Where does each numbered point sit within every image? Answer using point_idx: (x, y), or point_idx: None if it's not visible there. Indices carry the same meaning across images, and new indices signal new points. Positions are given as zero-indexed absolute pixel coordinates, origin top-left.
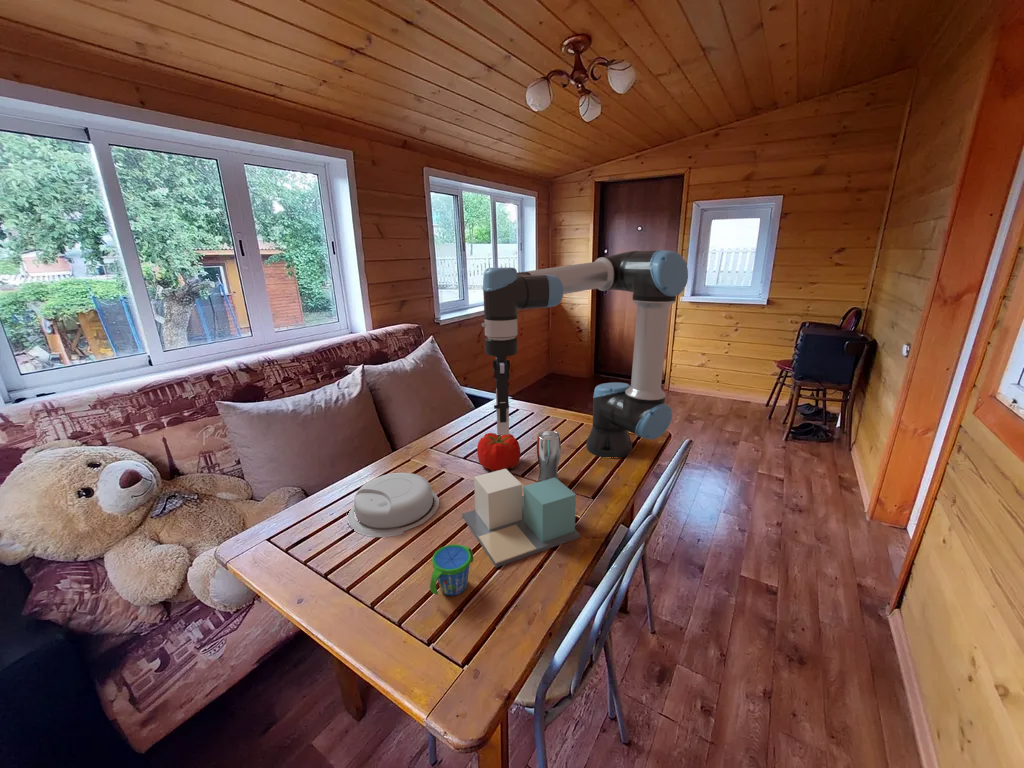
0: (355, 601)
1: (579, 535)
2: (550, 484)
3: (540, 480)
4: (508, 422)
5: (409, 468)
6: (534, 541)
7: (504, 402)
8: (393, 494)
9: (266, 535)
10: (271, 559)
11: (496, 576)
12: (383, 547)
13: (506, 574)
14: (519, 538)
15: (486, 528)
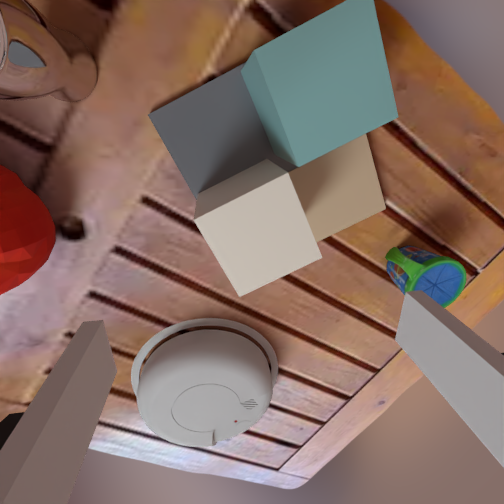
0: (396, 358)
1: None
2: (297, 76)
3: (82, 95)
4: (474, 335)
5: None
6: None
7: (74, 393)
8: (229, 402)
9: (269, 474)
10: (313, 451)
11: (398, 204)
12: (308, 361)
13: (398, 188)
14: (332, 166)
15: None
